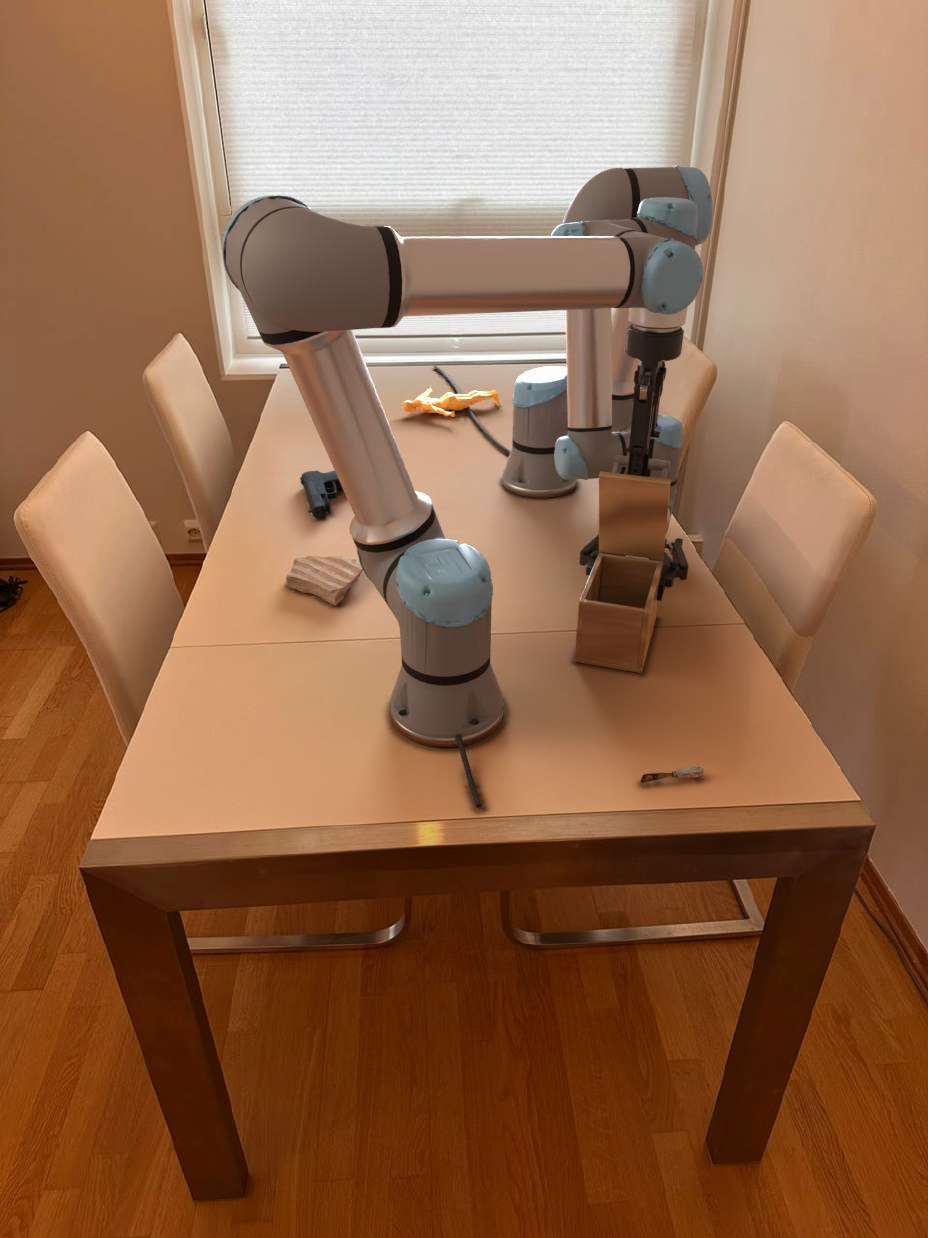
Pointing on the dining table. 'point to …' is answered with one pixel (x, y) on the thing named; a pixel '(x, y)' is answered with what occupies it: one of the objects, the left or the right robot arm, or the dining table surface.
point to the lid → (634, 511)
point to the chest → (618, 612)
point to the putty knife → (674, 774)
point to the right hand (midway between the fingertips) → (625, 587)
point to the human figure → (448, 402)
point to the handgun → (320, 491)
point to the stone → (323, 576)
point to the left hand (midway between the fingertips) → (637, 486)
